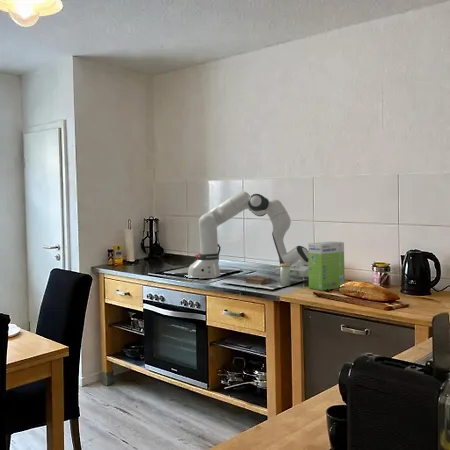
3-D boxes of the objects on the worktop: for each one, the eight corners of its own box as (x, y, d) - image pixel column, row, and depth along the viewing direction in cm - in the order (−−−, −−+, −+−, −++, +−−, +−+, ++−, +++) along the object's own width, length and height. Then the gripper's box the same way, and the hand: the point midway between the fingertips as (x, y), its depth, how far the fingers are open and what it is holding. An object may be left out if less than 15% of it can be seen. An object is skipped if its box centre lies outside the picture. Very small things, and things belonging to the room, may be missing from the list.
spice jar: (282, 286, 280) (282, 265, 280) (278, 284, 286) (277, 263, 285) (292, 285, 282) (292, 264, 282) (287, 283, 288) (287, 263, 287)
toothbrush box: (330, 284, 283) (330, 240, 281) (345, 287, 274) (345, 242, 273) (307, 288, 272) (307, 243, 271) (322, 291, 264) (322, 244, 262)
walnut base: (260, 284, 287) (260, 280, 286) (246, 282, 293) (246, 278, 293) (270, 282, 294) (270, 277, 294) (256, 280, 301) (256, 276, 301)
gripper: (282, 263, 300) (268, 266, 289) (313, 266, 287) (299, 269, 276) (282, 274, 300) (268, 277, 290) (313, 277, 287) (299, 280, 276)
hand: (284, 273), depth 283 cm, fingers closed on spice jar, 5 cm apart
